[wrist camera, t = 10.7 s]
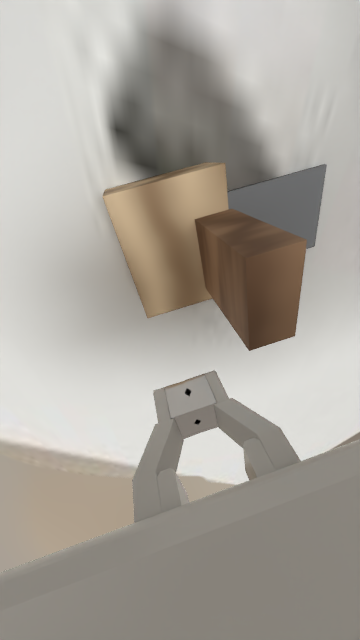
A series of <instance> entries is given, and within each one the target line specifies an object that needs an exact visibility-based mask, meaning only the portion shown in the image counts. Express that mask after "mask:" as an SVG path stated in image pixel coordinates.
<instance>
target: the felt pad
mask: <svg viewBox="0 0 360 640" xmlns="http://www.w3.org/2000/svg"><path fill="white" fill-rule="evenodd" d="M325 172H326V165H325V164H324V165H320V166H317V167H313V168H310V169H306V170H302V171H299V172H295V173H292V174H288V175H285V176H281V177H277V178H274V179H270V180H267V181H263V182H260V183H256V184H252V185H249V186H245V187H242V188H238V189H235V190H231V191H228V192H227V195H228V208H229V209H234V210H237V211H239V212H241V213H244V214H246V215H249V216H251V217H253V218H256V219H258V220H261V221H263V222H265V223H268V224H270V225H273V226H275V227H277V228H280V229H282V230H284V231H287V232H289V233H292V234H294V235H296V236H299V237H301V238H304V239H306V240H307V244H306V249H308V248H311V247H314V246H315V239H316V233H317V226H318V219H319V212H320V206H321V199H322V192H323V185H324V178H325Z"/></svg>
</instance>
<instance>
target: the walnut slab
mask: <svg viewBox="0 0 360 640" xmlns="http://www.w3.org/2000/svg"><path fill="white" fill-rule="evenodd" d="M195 225H196V232H197V238H198V244H199V250H200V256H201V262H202V269H203V275H204V281H205V287H206V289H207V291H208V292H209V294H210V295H211V296H212V298H213V299H214V301H215V302H216V304H217V305H218V307H219V308H220V309H221V311H222V312H223V314H224V315H225V317H226V318H227V319H228V321H229V322H230V324H231V325H232V327H233V328H234V330H235V331H236V332H237V334H238V335H239V337H240V338H241V340H242V341H243V343H244V344H245V345H246V347H247V348H248V350H249V351H250V350H253V349H256V348H259V347H263V346H266V345H269V344H272V343H275V342H278V341H281V340H284V339H287V338H290V337H293V336H295V332H296V324H297V316H298V308H299V300H300V292H301V284H302V276H303V268H304V260H305V252H306V244H307V240H306V239H304V238H301V237H299V236H296V235H294V234H292V233H289V232H287V231H284V230H282V229H280V228H277V227H275V226H273V225H270V224H268V223H265V222H263V221H261V220H258V219H256V218H253V217H251V216H249V215H246V214H244V213H241V212H239V211H237V210H234V209H229V210H225V211H222V212H218V213H215V214H211V215H208V216H204V217H201V218H197V219H195Z"/></svg>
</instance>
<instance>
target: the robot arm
mask: <svg viewBox="0 0 360 640" xmlns="http://www.w3.org/2000/svg"><path fill="white" fill-rule="evenodd" d="M154 400H155V406H156V412H157V418H158V424H155V426H154V429H153V431H152V434H151V436H150V438H149V441H148V443H147V446H146V448H145V451H144V453H143V456H142V458H141V460H140V463H139V465H138V468H137V470H136V473H135V475H134V478H133V480H132V482H133V502H134V522H135V523H133V524H130V525H128V526H125V527H122V528H120V529H117V530H114V531H112V532H109V533H106V534H104V535H101V536H98V537H96V538H93V539H90V540H87V541H85V542H82V543H79V544H77V545H74V546H71V547H69V548H66V549H63V550H61V551H58V552H55V553H52V554H50V555H47V556H44V557H42V558H39V559H36V560H33V561H31V562H28V563H25V564H23V565H20V566H18V567H15V568H12V569H9V570H6V571H4V572H1V573H0V640H360V440H357V441H354V442H352V443H349V444H346V445H344V446H341V447H338V448H336V449H333V450H330V451H327V452H325V453H322V454H319V455H317V456H314V457H311V458H309V459H306V460H303V461H300V459H299V457H298V456H297V454H296V453H295V451H294V449H293V448H292V446H291V445H290V443H289V441H288V440H287V438H286V437H285V435H284V433H283V432H282V430H281V429H280V427H278V426H276V425H275V424H273V423H272V422H270V421H268V420H267V419H265V418H264V417H262V416H260V415H259V414H257V413H256V412H254V411H252V410H251V409H249V408H248V407H246V406H244V405H243V404H241V403H239V402H238V401H236V400H235V399H233V398H230V399H229V398H228V396H227V394H226V392H225V390H224V387H223V385H222V383H221V381H220V379H219V377H218V375H217V373H216V372H215V371H211V372H208V373H205V374H202V375H199V376H196V377H193V378H190V379H187V380H184V381H183V382H179V383H176V384H173V385H170V386H166V387H163V388H160V389H157V390H154ZM216 427H219V428H220V429H221V430H222V431H223V432H224V433H226V434H227V435H228V436H229V437H230V438H231V439H233V440H234V441H235V442H236V443H237V444H238V445H240V446H241V447H242V448H243V449H244V460H245V471H246V473H247V476H248V478H249V481H246V482H244V483H241V484H238V485H236V486H233V487H230V488H228V489H225V490H222V491H220V492H217V493H214V494H212V495H209V496H206V497H203V498H201V499H198V500H195V501H192V502H190V503H189V500H188V495H187V492H186V490H185V488H184V487H183V485H182V483H181V481H180V479H179V478H178V476H177V474H176V470H177V466H178V462H179V458H180V454H181V449H182V445H183V441H184V440H183V439H185V438H188V437H190V436H193V435H195V434H198V433H201V432H204V431H207V430H210V429H213V428H216Z"/></svg>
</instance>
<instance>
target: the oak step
mask: <svg viewBox="0 0 360 640" xmlns="http://www.w3.org/2000/svg"><path fill="white" fill-rule="evenodd" d="M103 199H104V202H105V204H106V207H107V210H108V213H109V215H110V218H111V221H112V223H113V226H114V229H115V231H116V234H117V237H118V240H119V242H120V245H121V248H122V250H123V253H124V256H125V258H126V261H127V264H128V267H129V269H130V272H131V275H132V277H133V280H134V283H135V285H136V288H137V291H138V294H139V296H140V299H141V302H142V304H143V307H144V310H145V312H146V315H147V318H150V317H154V316H157V315H160V314H163V313H167V312H170V311H173V310H176V309H180V308H183V307H186V306H189V305H193V304H196V303H199V302H202V301H206V300H209V299H212V296H211V295H210V294H209V292H208V291H207V289H206V287H205V281H204V275H203V269H202V262H201V256H200V250H199V244H198V238H197V232H196V225H195V219H197V218H201V217H204V216H208V215H211V214H215V213H218V212H222V211H225V210H229V208H228V195H227V181H226V168H225V163H202V164H198V165H195V166H191V167H187V168H184V169H180V170H176V171H173V172H169V173H165V174H162V175H158V176H154V177H150V178H147V179H143V180H139V181H136V182H132V183H128V184H125V185H121V186H117V187H114V188H110V189H106V190H105V192H104V194H103Z"/></svg>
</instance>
